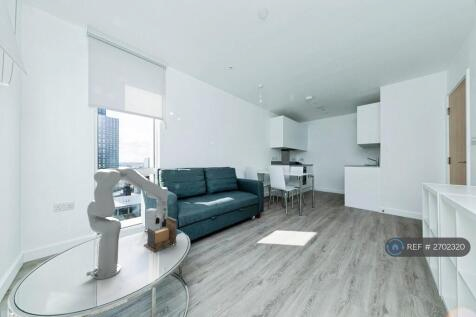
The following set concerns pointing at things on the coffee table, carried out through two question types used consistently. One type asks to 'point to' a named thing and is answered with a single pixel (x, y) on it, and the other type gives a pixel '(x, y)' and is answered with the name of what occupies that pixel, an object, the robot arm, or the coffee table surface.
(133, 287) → the coffee table surface
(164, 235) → the book
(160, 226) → the hard drive box
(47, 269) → the coffee table surface
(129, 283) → the coffee table surface
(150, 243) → the book rack
